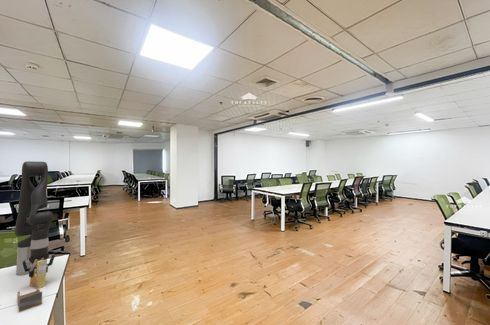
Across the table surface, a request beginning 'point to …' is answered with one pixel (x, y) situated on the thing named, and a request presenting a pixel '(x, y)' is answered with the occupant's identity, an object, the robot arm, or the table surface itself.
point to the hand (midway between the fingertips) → (38, 275)
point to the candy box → (39, 274)
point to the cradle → (29, 299)
